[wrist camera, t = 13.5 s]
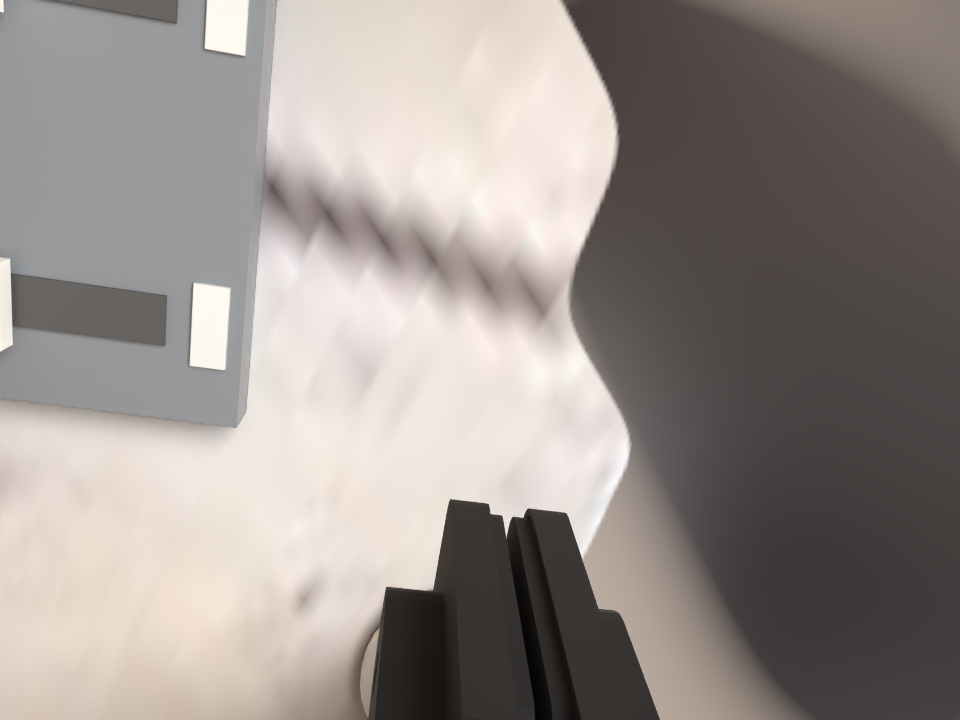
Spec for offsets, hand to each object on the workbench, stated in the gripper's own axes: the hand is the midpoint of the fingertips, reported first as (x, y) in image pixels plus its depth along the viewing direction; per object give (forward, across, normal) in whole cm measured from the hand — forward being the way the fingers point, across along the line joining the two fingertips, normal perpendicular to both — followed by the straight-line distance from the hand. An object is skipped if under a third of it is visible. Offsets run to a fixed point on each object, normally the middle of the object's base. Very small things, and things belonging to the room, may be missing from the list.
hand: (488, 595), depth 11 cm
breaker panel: (+27, +18, -2) cm, 33 cm away
